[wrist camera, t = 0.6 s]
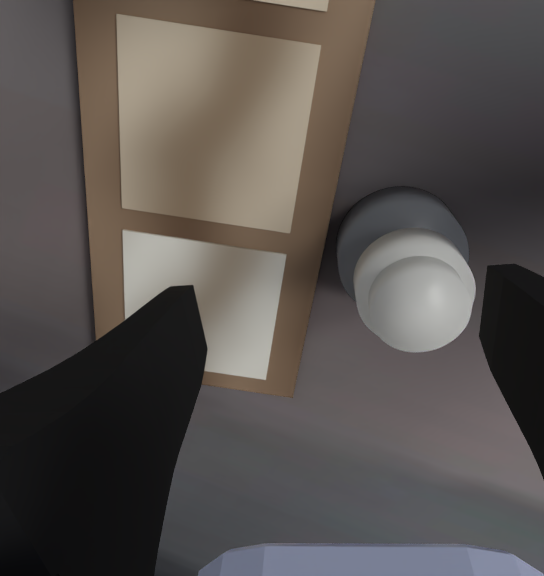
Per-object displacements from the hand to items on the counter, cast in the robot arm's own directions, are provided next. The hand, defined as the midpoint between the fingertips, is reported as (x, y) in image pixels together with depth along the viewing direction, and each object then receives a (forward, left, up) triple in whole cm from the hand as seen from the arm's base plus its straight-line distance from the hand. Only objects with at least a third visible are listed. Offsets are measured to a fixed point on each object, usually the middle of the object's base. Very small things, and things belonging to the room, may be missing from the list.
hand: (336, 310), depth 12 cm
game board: (+5, -2, -9) cm, 10 cm away
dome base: (-3, +2, -9) cm, 9 cm away
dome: (-3, +2, -6) cm, 7 cm away
